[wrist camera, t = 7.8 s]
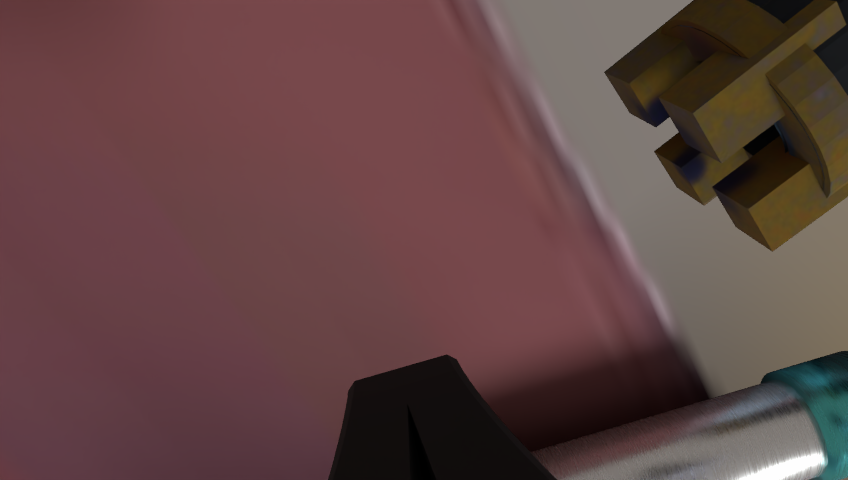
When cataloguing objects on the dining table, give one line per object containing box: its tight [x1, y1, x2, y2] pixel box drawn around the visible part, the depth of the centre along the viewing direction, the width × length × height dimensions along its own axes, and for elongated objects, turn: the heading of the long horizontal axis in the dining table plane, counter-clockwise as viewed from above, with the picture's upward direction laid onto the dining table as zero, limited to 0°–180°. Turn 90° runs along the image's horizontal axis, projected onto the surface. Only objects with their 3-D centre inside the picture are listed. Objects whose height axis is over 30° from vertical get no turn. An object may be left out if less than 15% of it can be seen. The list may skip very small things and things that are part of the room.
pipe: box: [531, 351, 848, 480], centre depth 21 cm, size 22×5×4 cm, turn 103°
